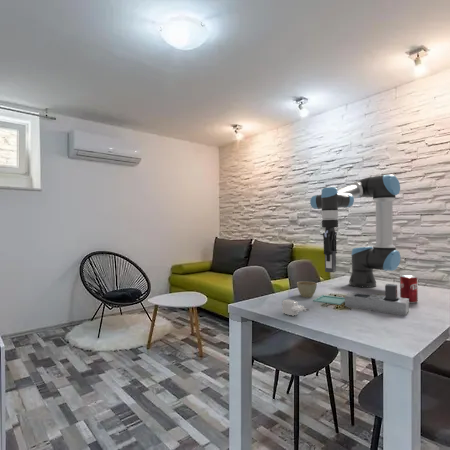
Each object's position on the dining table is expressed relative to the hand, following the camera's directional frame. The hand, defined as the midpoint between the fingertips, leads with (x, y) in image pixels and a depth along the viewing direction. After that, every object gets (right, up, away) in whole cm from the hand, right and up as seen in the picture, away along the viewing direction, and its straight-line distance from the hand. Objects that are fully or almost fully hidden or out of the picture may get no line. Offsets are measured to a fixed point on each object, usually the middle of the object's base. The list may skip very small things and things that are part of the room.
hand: (330, 267), depth 155 cm
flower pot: (-9, -17, +9) cm, 21 cm away
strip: (+18, -16, -11) cm, 27 cm away
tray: (0, -16, 0) cm, 16 cm away
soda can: (+36, -16, -3) cm, 40 cm away
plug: (0, -2, 0) cm, 2 cm away
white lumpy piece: (-22, -17, -24) cm, 37 cm away
